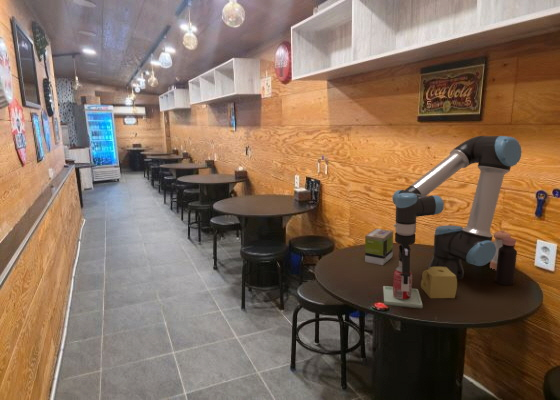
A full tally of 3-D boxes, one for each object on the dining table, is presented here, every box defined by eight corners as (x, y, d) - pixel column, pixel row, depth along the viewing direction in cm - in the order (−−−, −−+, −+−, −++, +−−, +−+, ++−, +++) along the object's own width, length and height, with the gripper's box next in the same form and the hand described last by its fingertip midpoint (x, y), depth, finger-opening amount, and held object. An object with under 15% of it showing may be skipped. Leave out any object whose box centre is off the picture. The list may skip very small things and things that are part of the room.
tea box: (374, 253, 195) (375, 227, 192) (393, 257, 189) (394, 230, 186) (364, 262, 183) (365, 234, 180) (383, 266, 177) (384, 237, 175)
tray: (417, 292, 148) (417, 289, 148) (422, 308, 135) (422, 304, 135) (383, 289, 152) (383, 285, 152) (384, 304, 139) (384, 301, 138)
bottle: (494, 278, 161) (499, 236, 157) (512, 280, 158) (517, 237, 154) (495, 284, 155) (500, 240, 151) (514, 286, 152) (519, 242, 148)
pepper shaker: (497, 264, 176) (501, 227, 172) (511, 270, 169) (515, 231, 166) (486, 266, 174) (490, 229, 170) (499, 272, 167) (503, 233, 163)
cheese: (420, 287, 153) (421, 266, 151) (445, 287, 152) (447, 265, 150) (429, 299, 143) (431, 275, 141) (456, 299, 142) (458, 275, 140)
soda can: (409, 293, 146) (411, 266, 144) (412, 301, 139) (414, 273, 137) (391, 292, 147) (393, 265, 145) (393, 300, 141) (395, 272, 138)
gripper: (393, 223, 151) (391, 270, 155) (397, 242, 127) (395, 296, 131) (411, 224, 149) (410, 271, 153) (419, 243, 125) (417, 298, 130)
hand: (403, 283), depth 142 cm, fingers open, 13 cm apart
